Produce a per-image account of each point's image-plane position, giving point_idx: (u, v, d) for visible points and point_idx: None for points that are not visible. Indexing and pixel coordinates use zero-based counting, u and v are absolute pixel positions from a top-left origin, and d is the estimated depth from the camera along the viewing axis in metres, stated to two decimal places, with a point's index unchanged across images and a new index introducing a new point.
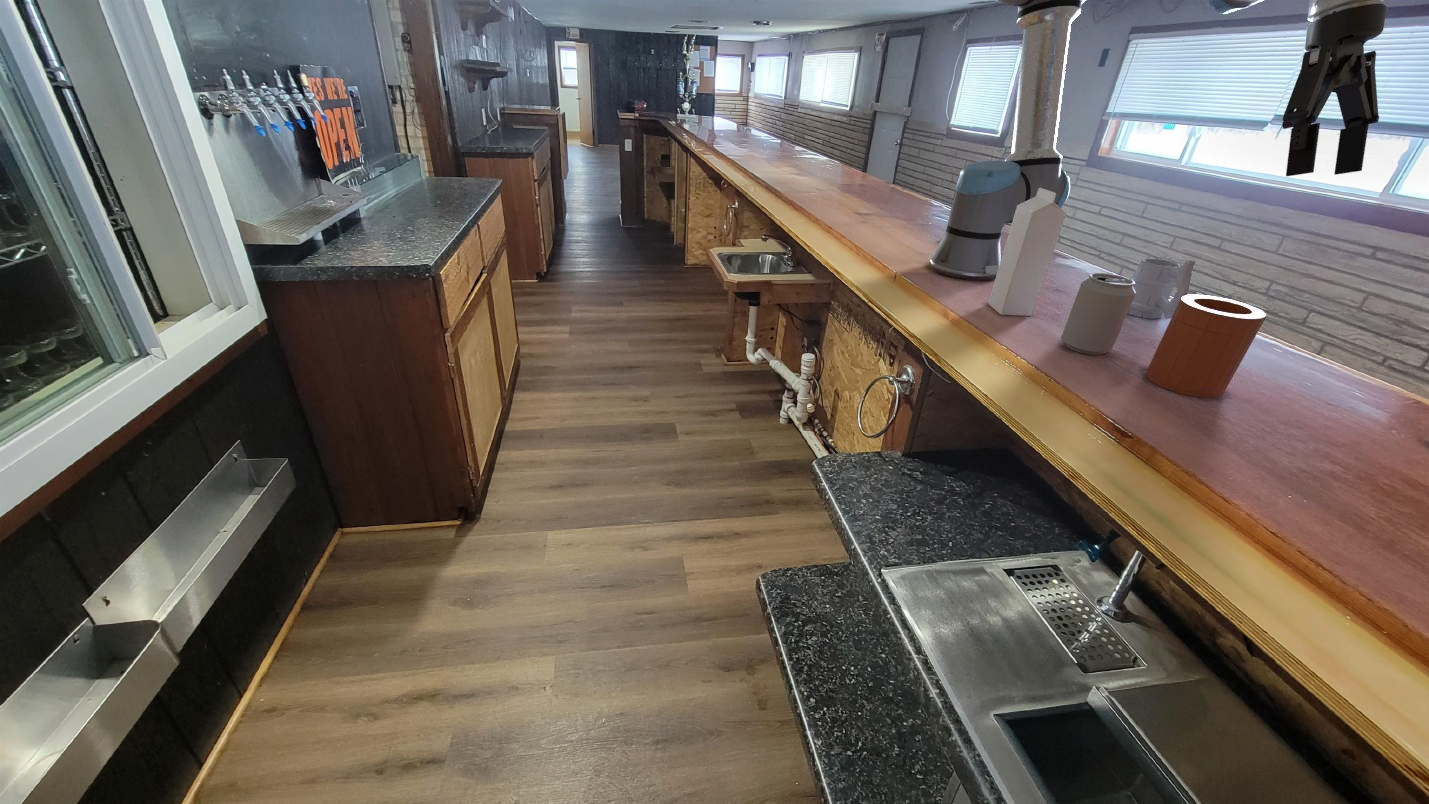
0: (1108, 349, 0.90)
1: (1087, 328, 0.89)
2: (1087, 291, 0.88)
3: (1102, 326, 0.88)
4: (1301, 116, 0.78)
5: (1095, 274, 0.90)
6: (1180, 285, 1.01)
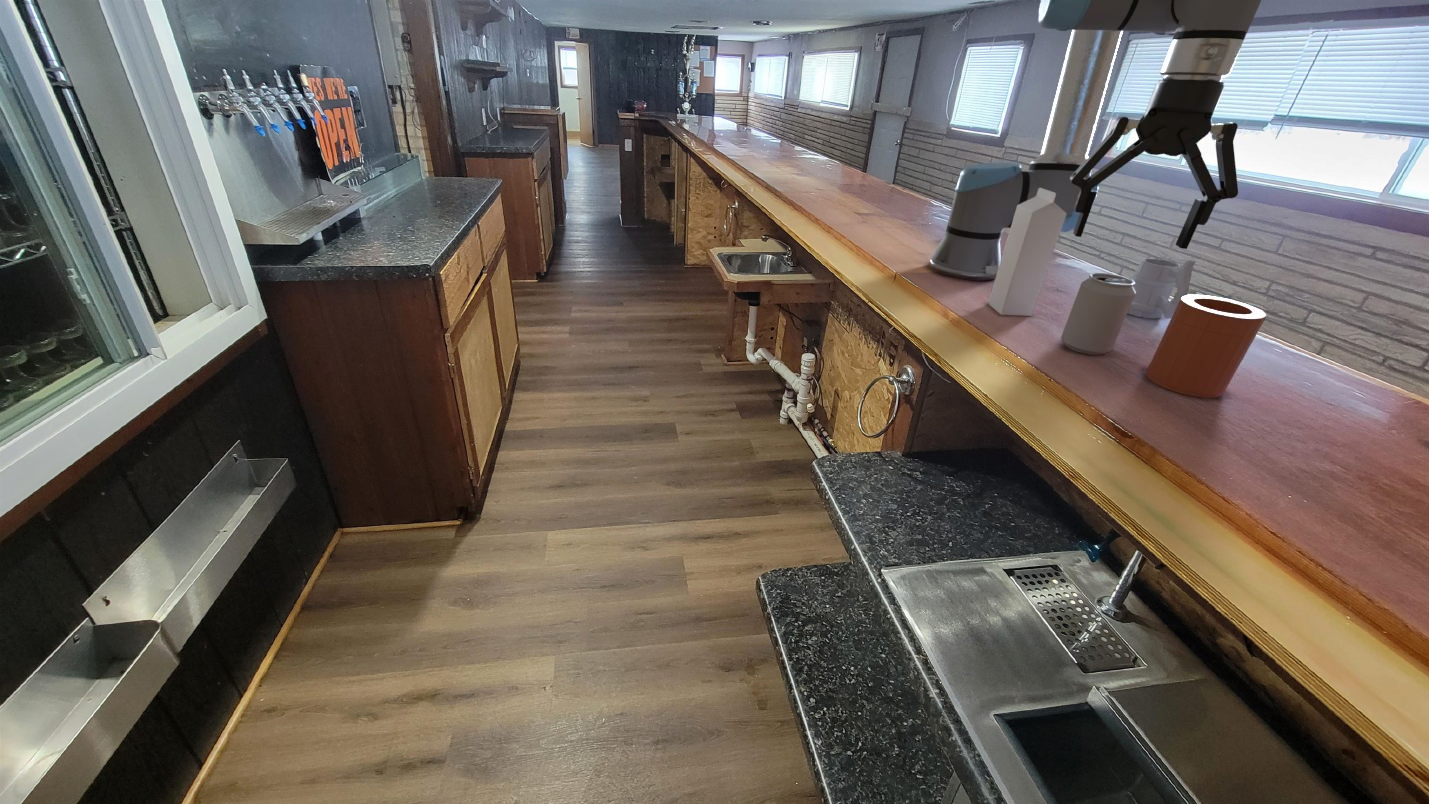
0: (1108, 349, 0.90)
1: (1087, 328, 0.89)
2: (1087, 291, 0.88)
3: (1102, 326, 0.88)
4: (1071, 182, 0.84)
5: (1095, 274, 0.90)
6: (1180, 285, 1.01)
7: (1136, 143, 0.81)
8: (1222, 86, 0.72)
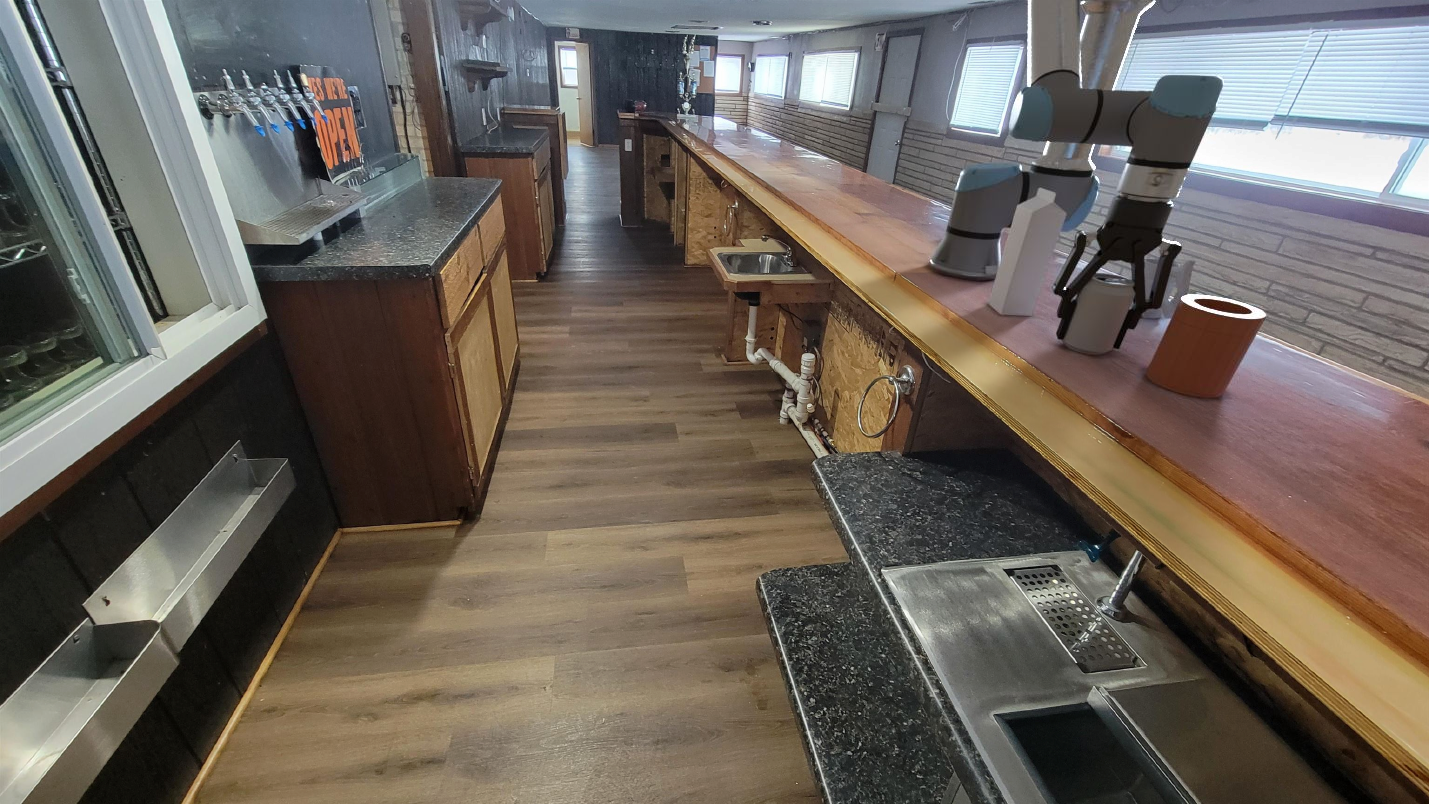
0: (1108, 349, 0.90)
1: (1087, 328, 0.89)
2: (1087, 291, 0.88)
3: (1102, 326, 0.88)
4: (1054, 292, 0.91)
5: (1095, 274, 0.90)
6: (1180, 285, 1.01)
7: (1100, 251, 0.88)
8: (1170, 207, 0.80)
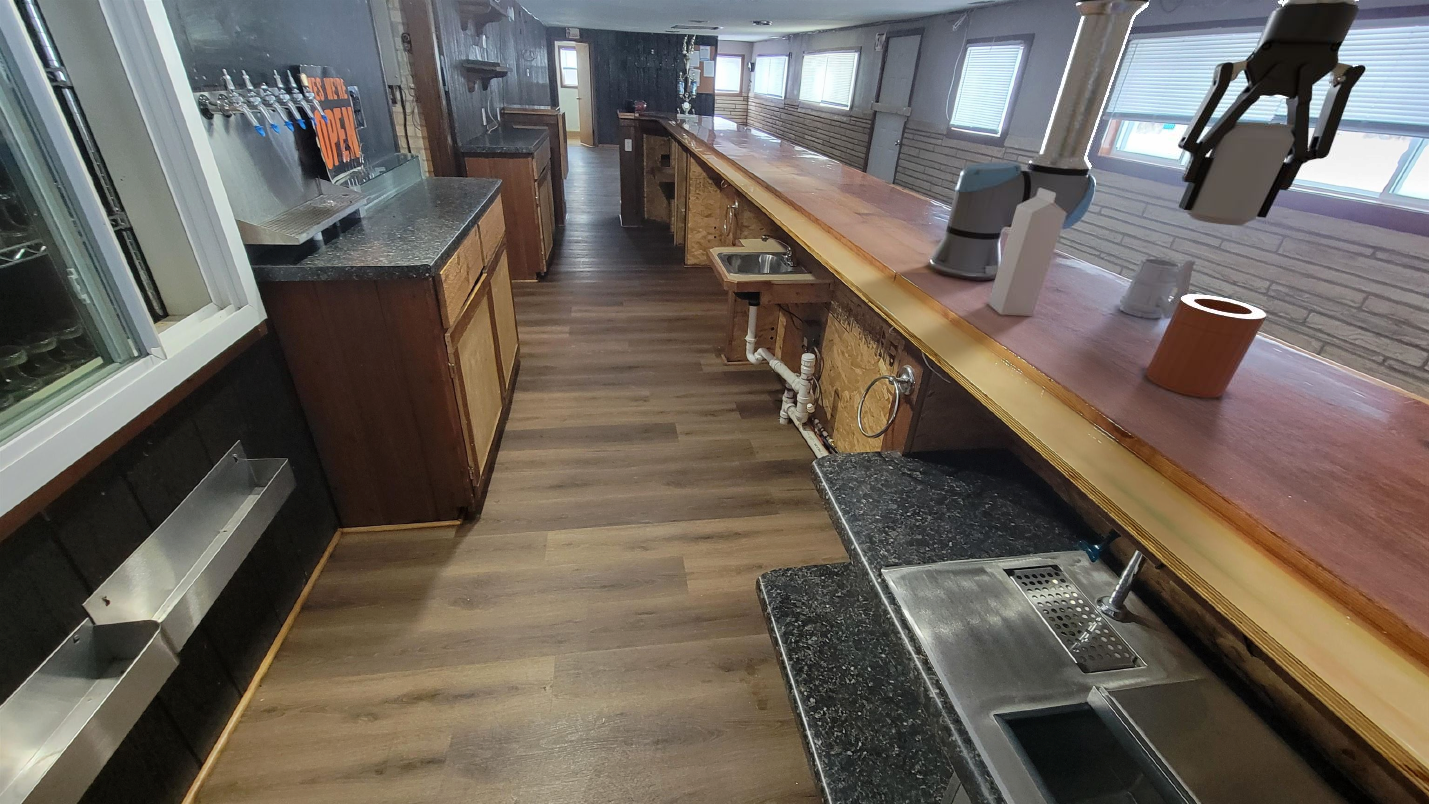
0: (1253, 216, 0.72)
1: (1229, 188, 0.71)
2: (1229, 139, 0.70)
3: (1249, 184, 0.70)
4: (1182, 147, 0.73)
5: None
6: (1180, 285, 1.01)
7: (1246, 90, 0.70)
8: (1356, 10, 0.62)
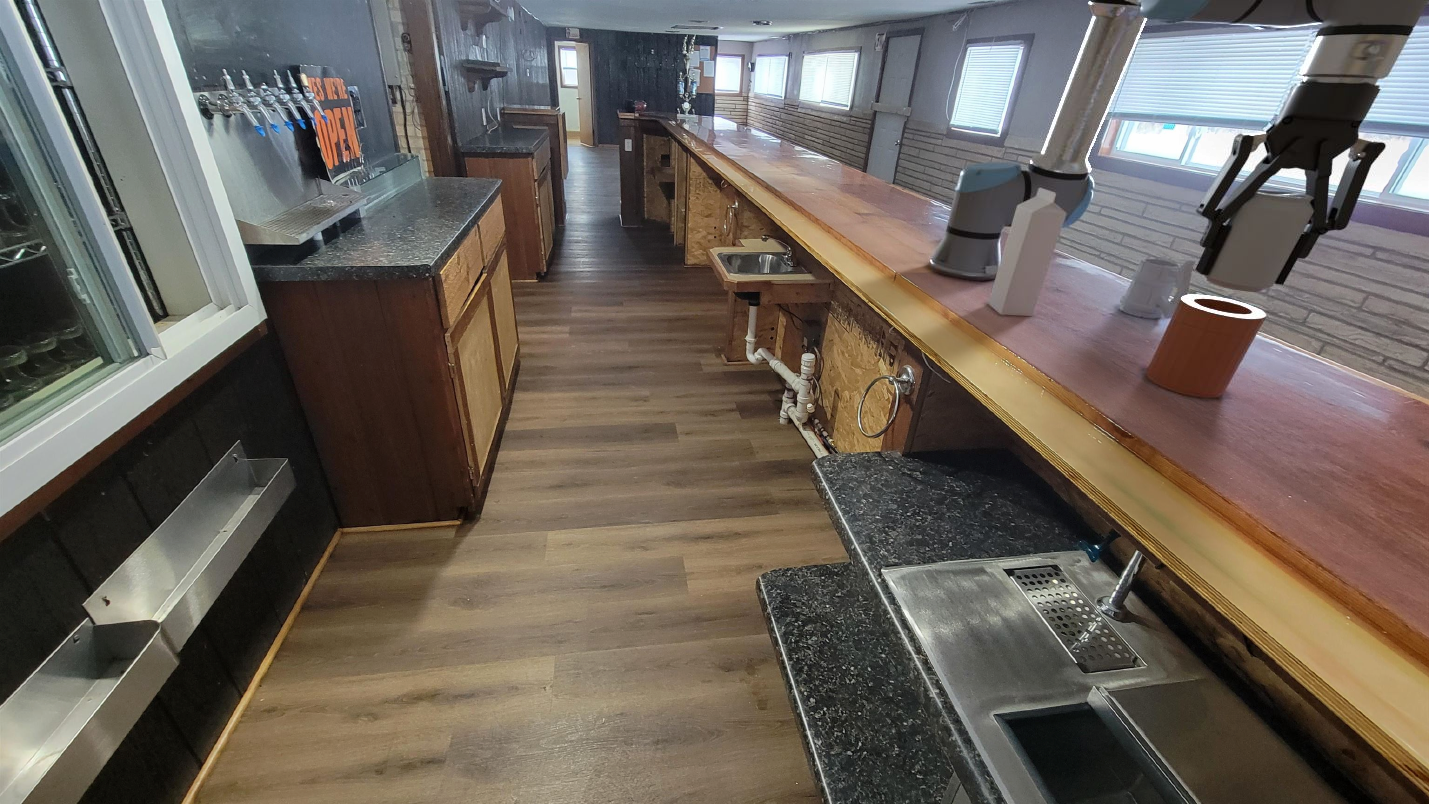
0: (1271, 284, 0.73)
1: (1247, 256, 0.72)
2: (1249, 209, 0.71)
3: (1268, 254, 0.71)
4: (1201, 214, 0.74)
5: None
6: (1180, 285, 1.01)
7: (1265, 160, 0.70)
8: (1378, 90, 0.62)
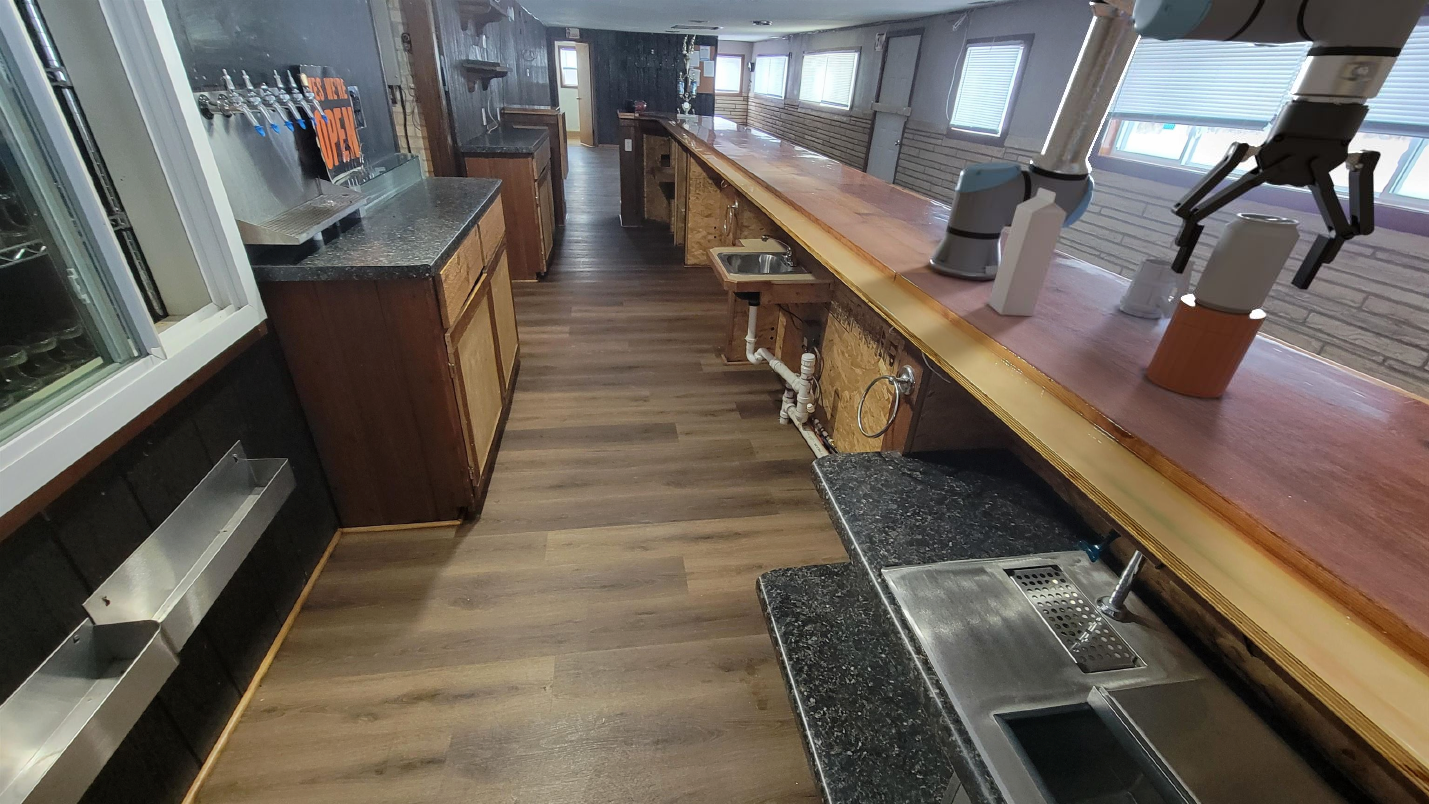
0: (1258, 306, 0.74)
1: (1235, 280, 0.73)
2: (1237, 233, 0.72)
3: (1255, 277, 0.72)
4: (1175, 213, 0.75)
5: (1243, 215, 0.74)
6: (1180, 285, 1.01)
7: (1253, 171, 0.71)
8: (1367, 110, 0.63)
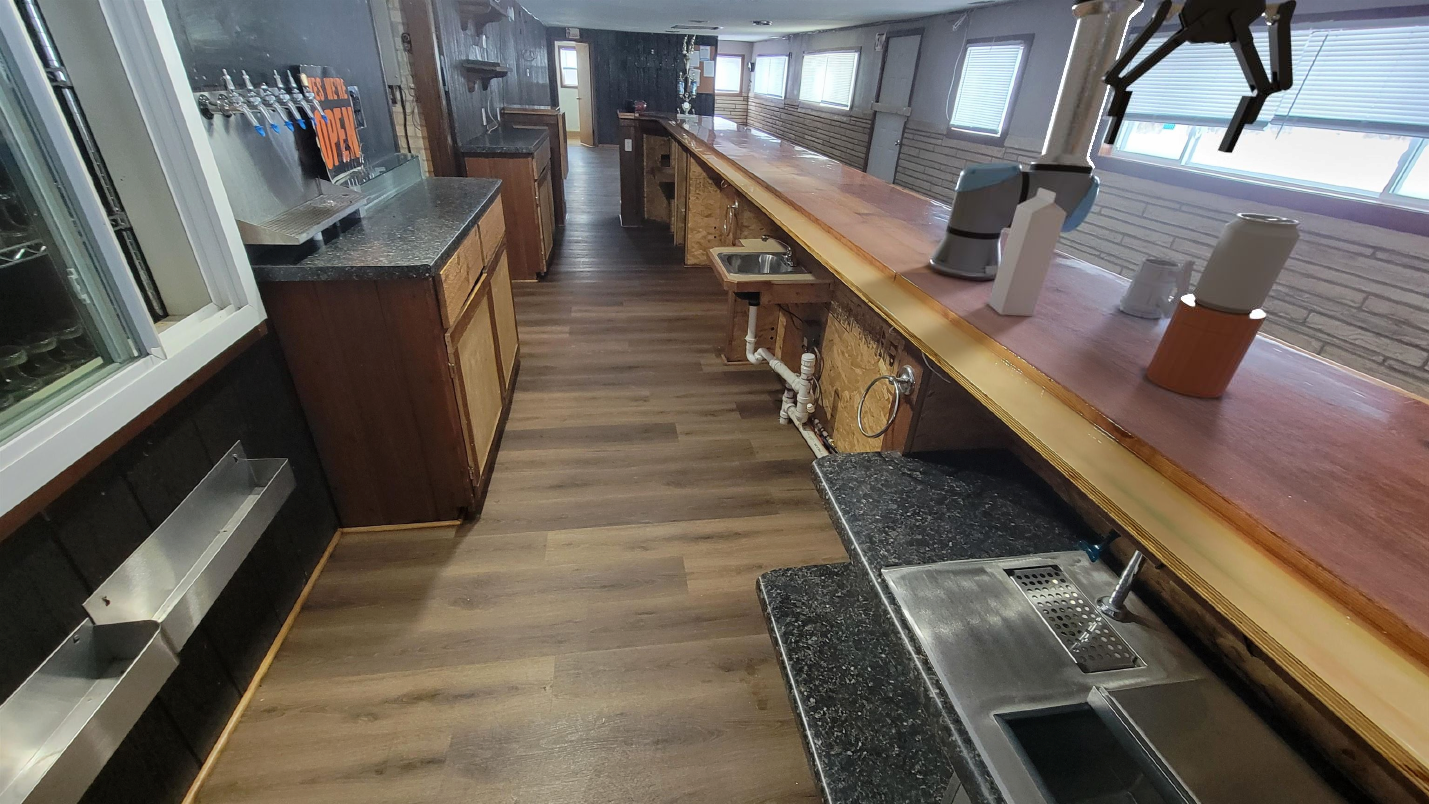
0: (1258, 306, 0.74)
1: (1235, 280, 0.73)
2: (1237, 233, 0.72)
3: (1255, 277, 0.72)
4: (1104, 81, 0.75)
5: (1243, 215, 0.74)
6: (1180, 285, 1.01)
7: (1178, 33, 0.72)
8: None
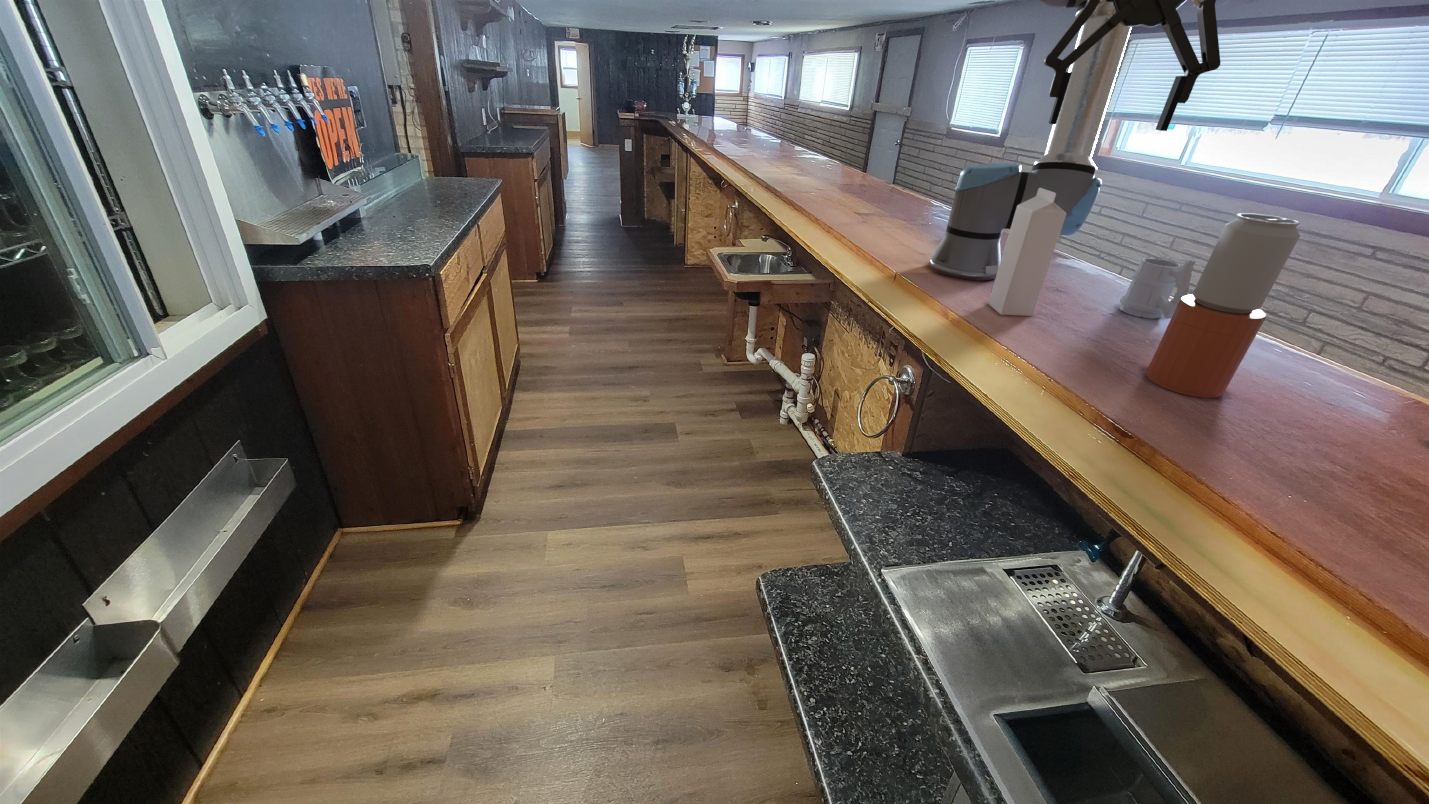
0: (1258, 306, 0.74)
1: (1235, 280, 0.73)
2: (1237, 233, 0.72)
3: (1255, 277, 0.72)
4: (1045, 63, 0.79)
5: (1243, 215, 0.74)
6: (1180, 285, 1.01)
7: (1113, 16, 0.76)
8: None
